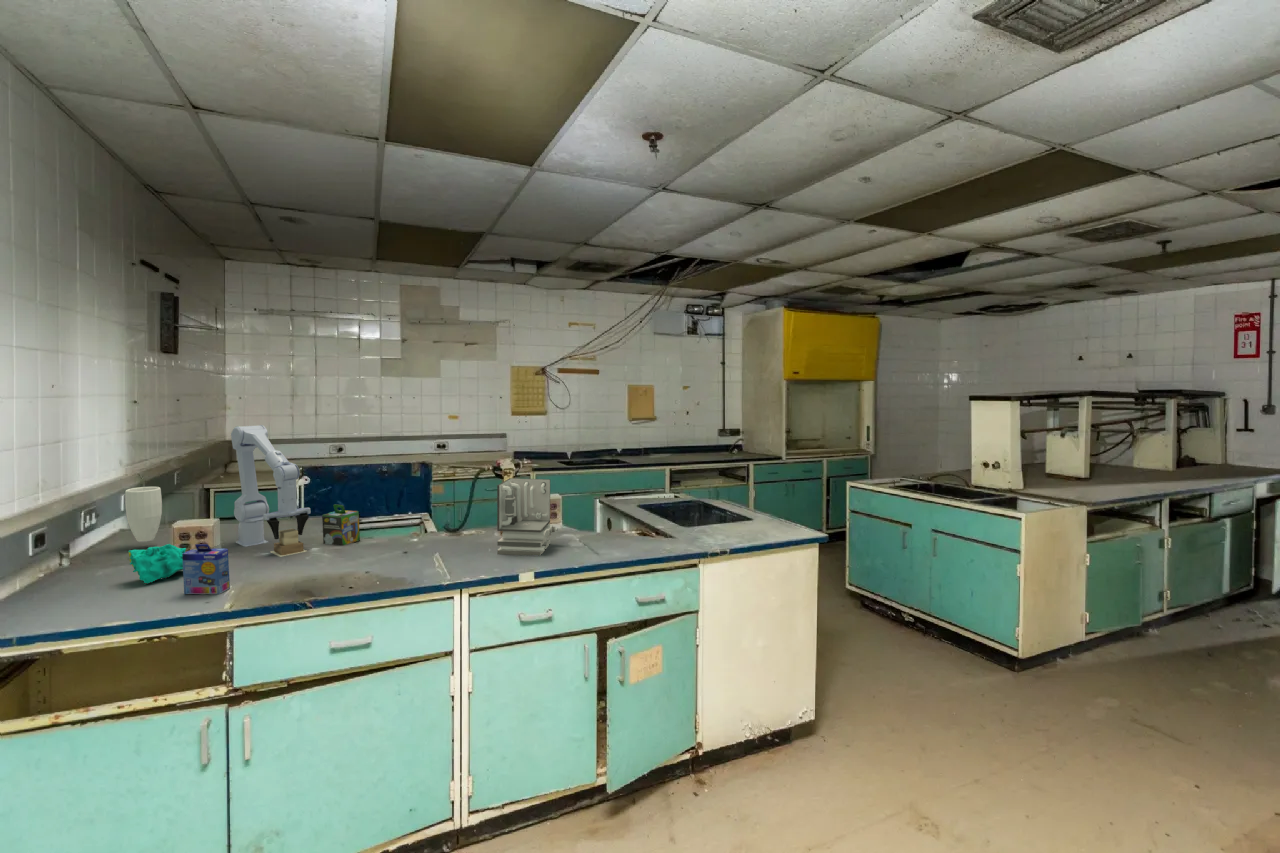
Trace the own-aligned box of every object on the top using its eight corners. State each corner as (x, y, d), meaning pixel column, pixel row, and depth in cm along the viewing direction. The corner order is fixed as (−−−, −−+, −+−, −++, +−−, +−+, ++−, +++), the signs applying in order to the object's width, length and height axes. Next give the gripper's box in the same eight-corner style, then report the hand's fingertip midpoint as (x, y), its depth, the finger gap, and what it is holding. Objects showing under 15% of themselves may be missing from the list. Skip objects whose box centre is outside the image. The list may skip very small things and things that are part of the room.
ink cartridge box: (182, 595, 170) (180, 545, 169) (195, 588, 175) (193, 540, 174) (219, 595, 171) (217, 545, 170) (230, 588, 176) (228, 540, 175)
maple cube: (279, 543, 211) (279, 530, 211) (293, 540, 215) (292, 528, 215) (284, 545, 209) (284, 533, 208) (298, 543, 212) (298, 530, 212)
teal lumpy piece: (142, 550, 189) (185, 529, 192) (160, 584, 189) (203, 562, 192) (111, 555, 174) (159, 532, 177) (130, 591, 174) (178, 568, 177)
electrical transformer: (509, 542, 230) (509, 478, 228) (558, 544, 229) (559, 479, 227) (497, 554, 215) (497, 485, 213) (550, 556, 213) (550, 486, 211)
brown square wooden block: (274, 551, 212) (273, 543, 211) (295, 547, 217) (295, 539, 217) (282, 555, 207) (281, 547, 207) (303, 551, 213) (303, 542, 212)
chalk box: (360, 540, 229) (359, 502, 228) (342, 547, 220) (341, 507, 219) (340, 538, 232) (339, 500, 230) (322, 544, 223) (321, 505, 222)
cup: (169, 543, 221) (167, 485, 220) (157, 551, 212) (154, 490, 210) (135, 545, 218) (132, 486, 216) (121, 553, 208) (117, 492, 207)
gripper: (268, 503, 202) (270, 542, 203) (313, 497, 214) (314, 534, 215) (260, 500, 207) (262, 539, 208) (305, 494, 218) (306, 531, 219)
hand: (288, 536), depth 212 cm, fingers open, 7 cm apart
